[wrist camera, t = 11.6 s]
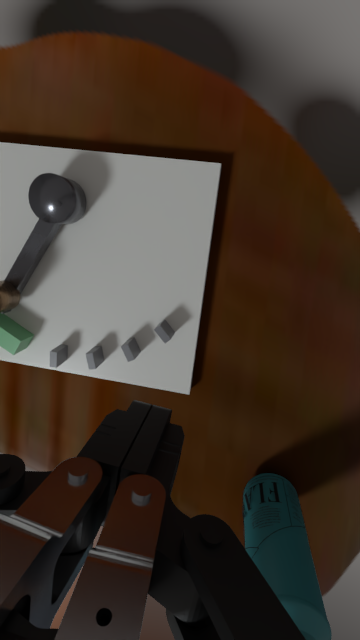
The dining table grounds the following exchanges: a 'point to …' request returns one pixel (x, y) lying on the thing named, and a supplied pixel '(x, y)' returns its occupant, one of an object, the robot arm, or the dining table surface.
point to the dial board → (111, 265)
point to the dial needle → (42, 230)
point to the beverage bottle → (284, 551)
